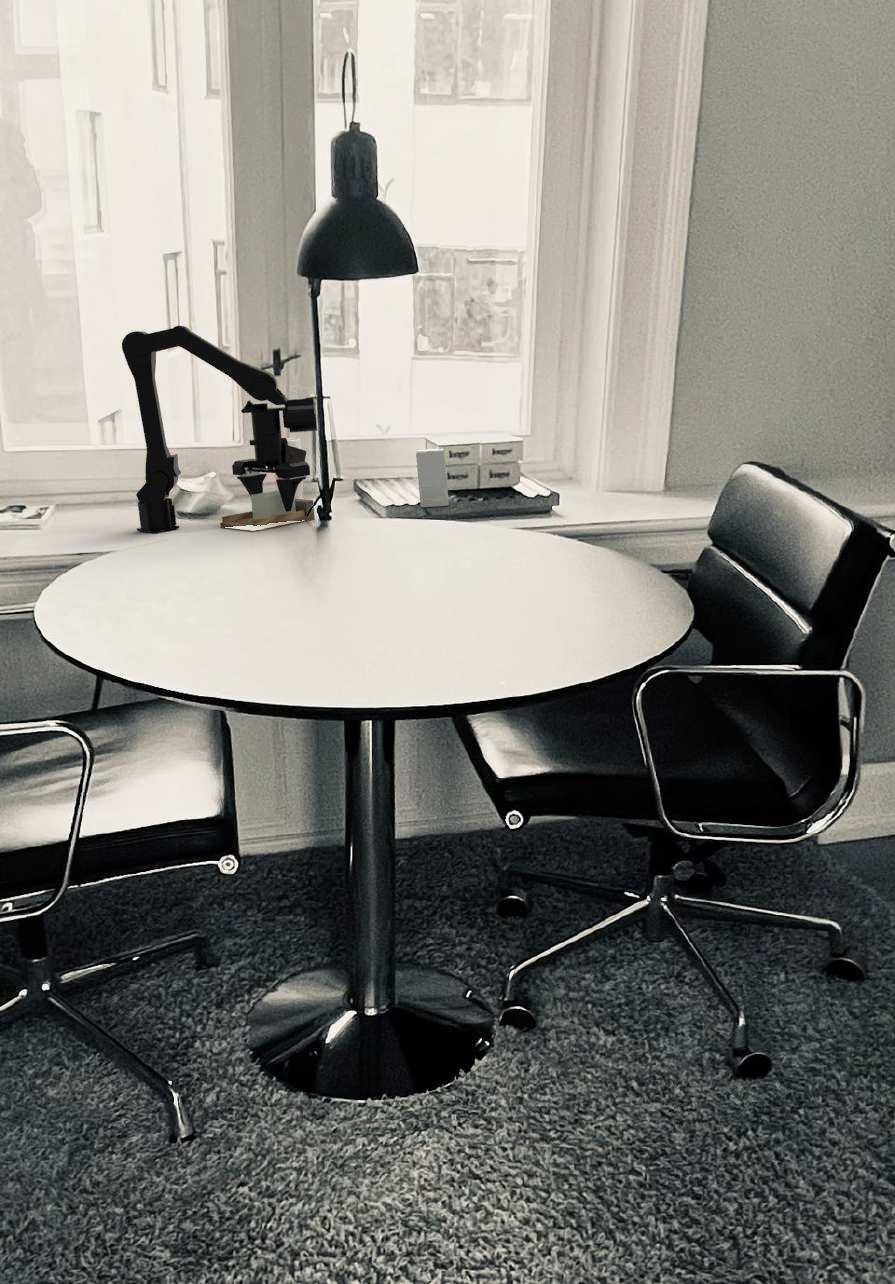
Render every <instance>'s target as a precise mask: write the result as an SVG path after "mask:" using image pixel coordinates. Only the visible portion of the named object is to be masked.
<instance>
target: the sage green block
mask: <svg viewBox="0 0 895 1284" xmlns="http://www.w3.org/2000/svg"><path fill="white" fill-rule="evenodd" d="M250 500H251V501H250V502H251V511H252V512H253V519H261V518H266V517H272V516H277V515H282V514H287V513H292V512H296V507H295V497H294V501H293V505H292V509H291V511H290V512H286V510H285V508H284V505H283V502H282V499H281V495H280V492H279V490H278V489H277V490H271V491H267V492H266V491H265V492H263V493H259V494H254V495H251V496H250Z"/></svg>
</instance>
